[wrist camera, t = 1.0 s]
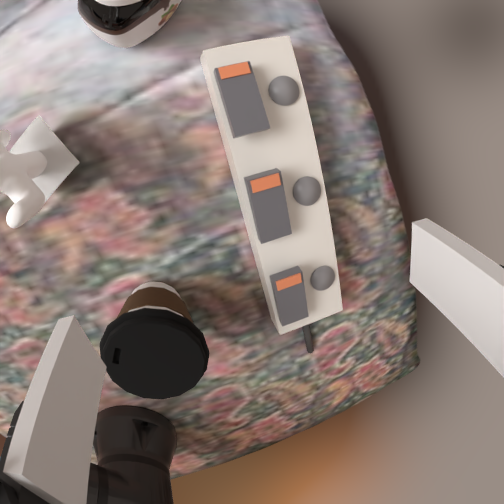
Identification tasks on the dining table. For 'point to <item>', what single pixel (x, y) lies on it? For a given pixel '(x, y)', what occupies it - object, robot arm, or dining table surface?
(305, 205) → the power strip
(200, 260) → the dining table surface
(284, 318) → the rocker
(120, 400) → the dining table surface
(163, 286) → the coffee cup
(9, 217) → the figurine
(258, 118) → the grey flat rectangular block
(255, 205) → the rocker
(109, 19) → the spread jar
